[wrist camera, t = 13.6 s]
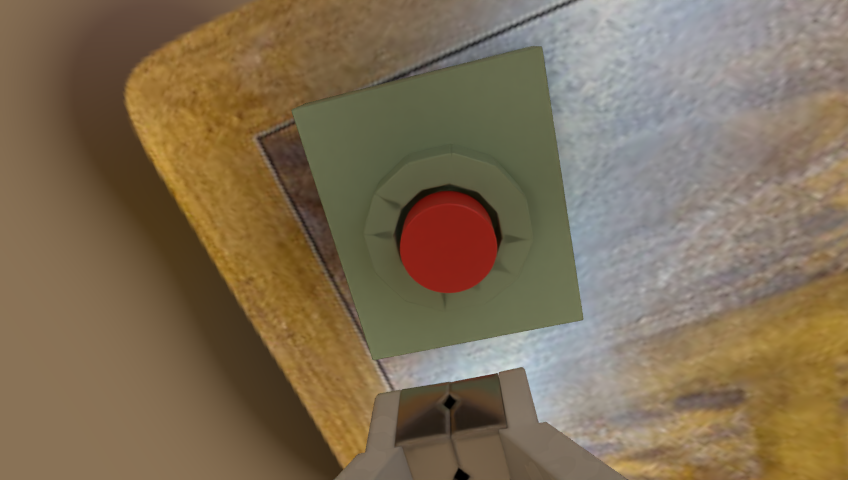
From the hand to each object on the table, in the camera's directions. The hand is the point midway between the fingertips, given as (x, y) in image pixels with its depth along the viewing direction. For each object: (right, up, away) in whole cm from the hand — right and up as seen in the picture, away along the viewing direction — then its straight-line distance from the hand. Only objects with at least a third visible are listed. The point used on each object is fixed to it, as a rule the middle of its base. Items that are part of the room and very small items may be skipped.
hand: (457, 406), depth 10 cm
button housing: (0, +5, +14) cm, 14 cm away
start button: (0, +4, +10) cm, 11 cm away
